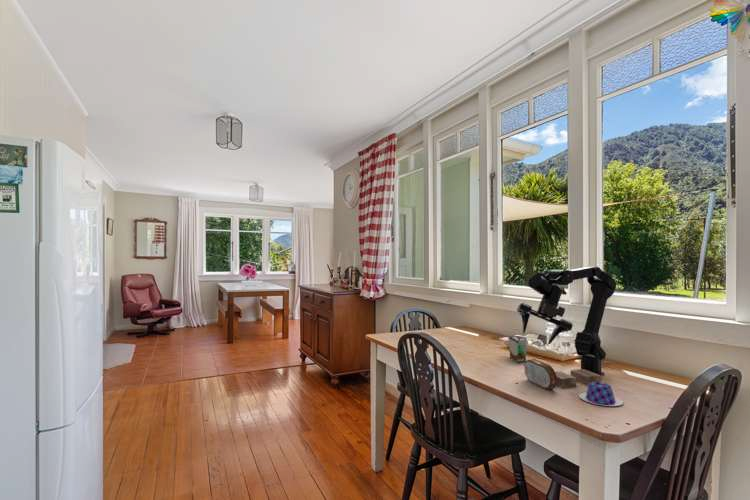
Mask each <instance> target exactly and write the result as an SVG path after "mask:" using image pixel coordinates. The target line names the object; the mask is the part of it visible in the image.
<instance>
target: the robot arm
mask: <svg viewBox="0 0 750 500" xmlns="http://www.w3.org/2000/svg"><path fill="white" fill-rule="evenodd" d="M585 278H586V282H587V283H588V284H589V285H590V292H591V294H592V299H591V303H590V307H589V311H588V313H587V318H586V321H585V325H584V328H583V330H582V331H581V332H580V331H577V332H576V335H575V339H574V348H575V350H576V354H577V355H578V356H581V359H580V368H579V369H578V370H580V369H585V370H587V371H590V372H593V373H595V374H598V375H605V372H604V371H602V361H603V360H605V359H606V355H607V353H606V351H605V350H604V349H603V348H602V347H601V343H602V341H601V340H602V339H600V335H599V332H600V328H601V324H602V322H603V321H602V320H603V318H604V313H605V308H606V304H607V301H608V300H609V299H610V298H611V297H612V296H613V295H614V294H615V290H616V288H617V281H616V280H615V279H614V278H613V277H612V275H610V274H609V273H607V272H605V271H604V270H602V269H601V268H600V267H599V266H596V265H595V266H594V265H592V266H591V265H590V266H585V267H579V268H574V269H550V270H549V271H548V273H547V274H544V273H543V272H542V271H538V272H536V273H535V274H534V275H532V276H531V277H530V278H529V279H528V282H527V283H528V285H527V286H528V287H529V288H530V289H532V290H533V291H535V292H536V293H538V294H539V295H542V297H541V300H540V302H539V304H538V305H539V306H538V308H537V310H534V309H533V306H531V305H529V304H527V303H524V302H522V303H520V304H519V305H518V306H517V308H516V312H517V313H519V314H518V315H520V316H521V321H522V334H525V333H526V330H527V327H528V322H529V319H530V316H531V315H532V316H533V317H537V318H539V319H542V320H543V321H546V322H547V323H551V324H553V325H555V327H554V328H553V331H552V333H551V334H550V337H549V339H548V342H547V344H548V345H550V344H551V343H552V342H553V341H554V339H556V337H557V336H559V334H560V333H567V332H571V331H572V328H573V323H572V322H570V321H568V320H566V319H559V320H558V319H556V317H557V316H559V317H561V318H562V317H564V315H565V311H566V308H565V307H562V306H558V305H559V302H560V299H561V296H563V295H565V296H566V295H567V291H566V290H565V287H564V286H568V285H570V284H572V283H573V282H574V281H576V280H581V279H582V280H583V279H585ZM560 286H561V287H560ZM562 286H563V287H562Z"/></svg>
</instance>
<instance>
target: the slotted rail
mask: <svg viewBox="0 0 750 500" xmlns="http://www.w3.org/2000/svg"><path fill="white" fill-rule="evenodd" d="M579 369H580V370H579ZM579 369H570V374H569V373H566V372H563V371H562V370H558V371H555V373H556V375H557V386H558V387H560V388H571V387H573V388H574V387H577V386H578V385H577V382H579V383H580V384H583V385H586V386H589V384H590V383H592V382H601V383H602V376H601V375H602V374H600V375H598V374H595V373H593V372H590V371H587V370H585V369H581V368H579Z"/></svg>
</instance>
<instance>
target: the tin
mask: <svg viewBox="0 0 750 500" xmlns="http://www.w3.org/2000/svg"><path fill="white" fill-rule="evenodd" d="M523 364H524V365H523V367H524V374H525V376H526V378H527V380H528V381H529V382H531V383H532V384H535V385H536V386H538V387H540V388H541V389H545V390H553V389H555V388H556V387H557V386H558V385H557V375H556V373H555V372H556V371H555V369H554V367H552V365H550V364H549V363H546V362H544V361H541V360H539V359H536V358H531V359H526V362H524V363H523Z"/></svg>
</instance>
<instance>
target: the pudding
mask: <svg viewBox="0 0 750 500" xmlns="http://www.w3.org/2000/svg"><path fill="white" fill-rule="evenodd" d="M578 396H579V399H582V401H584V402H587V403H590V404H593V405H598V406H602V407H603V406H606V407H619V406H621V405H624V401H623V400H622V399H621V398H619V397H617V396H615V395H614V392H613V388H612V386H611V385H609V384H607V383H605V382H602V381H601V382H592V383H590V384H589V385H588V388H587V391H585V392H581V393H579V394H578Z"/></svg>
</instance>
